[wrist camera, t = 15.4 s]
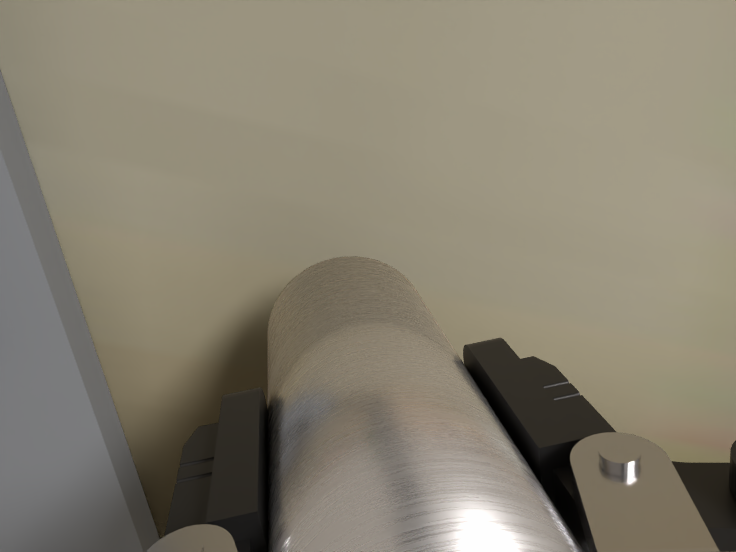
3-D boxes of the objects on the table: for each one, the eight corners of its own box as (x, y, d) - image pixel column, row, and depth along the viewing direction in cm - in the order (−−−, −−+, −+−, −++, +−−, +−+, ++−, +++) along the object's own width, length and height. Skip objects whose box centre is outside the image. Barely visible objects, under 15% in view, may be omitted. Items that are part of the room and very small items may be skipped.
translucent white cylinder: (251, 273, 15) (226, 639, 5) (416, 242, 15) (654, 536, 6) (285, 417, 16) (309, 906, 7) (435, 385, 17) (651, 807, 7)
